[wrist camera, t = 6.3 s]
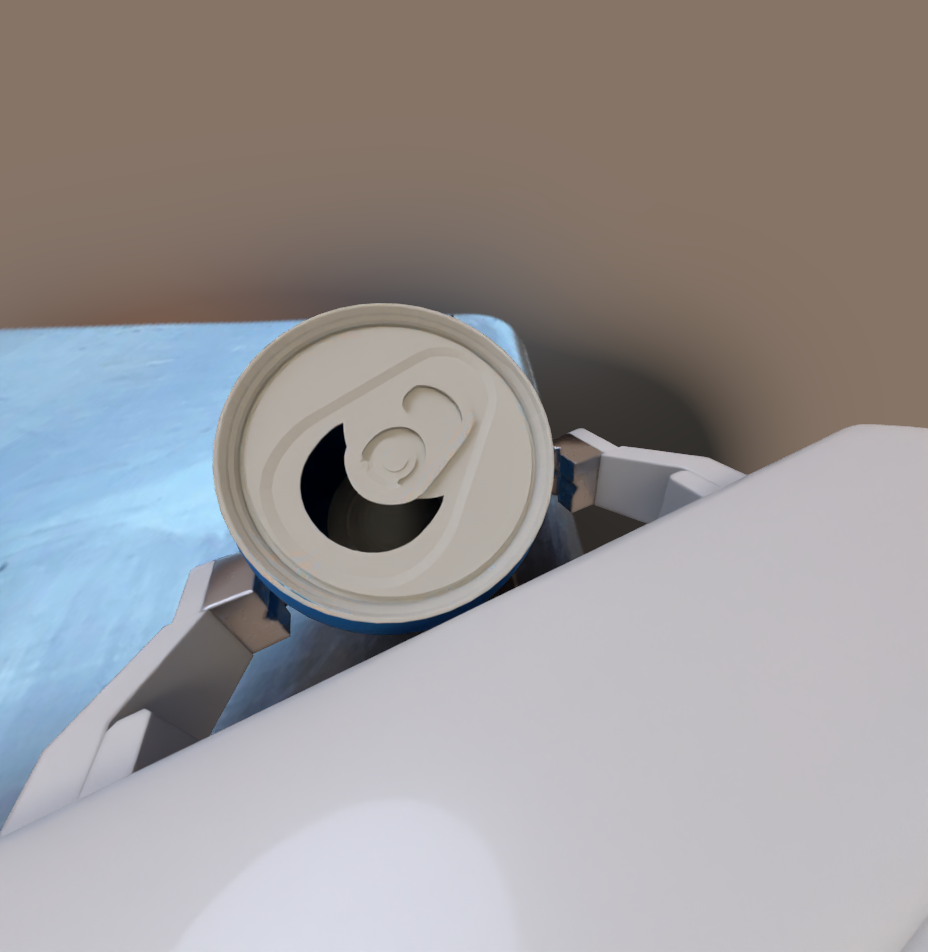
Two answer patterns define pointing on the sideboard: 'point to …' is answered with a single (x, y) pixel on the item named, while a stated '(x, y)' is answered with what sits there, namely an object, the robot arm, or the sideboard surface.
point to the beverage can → (383, 467)
